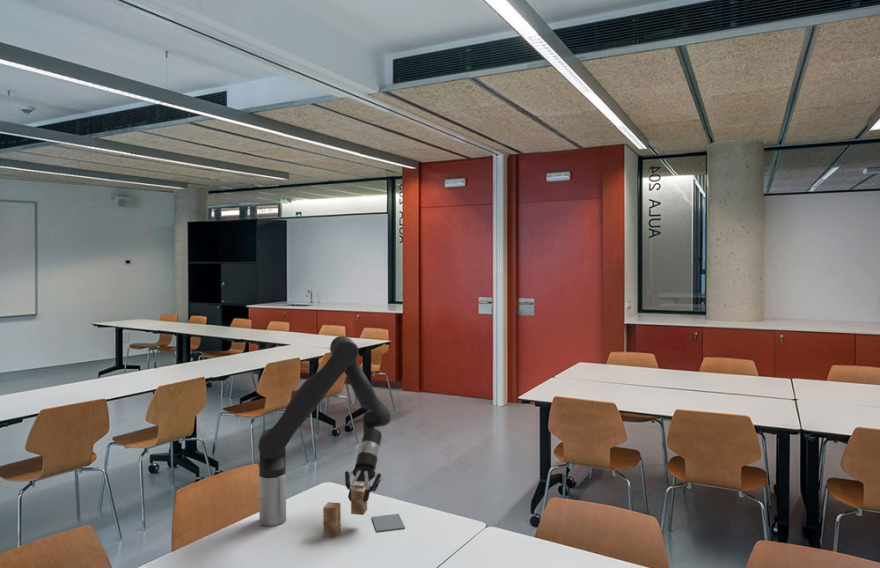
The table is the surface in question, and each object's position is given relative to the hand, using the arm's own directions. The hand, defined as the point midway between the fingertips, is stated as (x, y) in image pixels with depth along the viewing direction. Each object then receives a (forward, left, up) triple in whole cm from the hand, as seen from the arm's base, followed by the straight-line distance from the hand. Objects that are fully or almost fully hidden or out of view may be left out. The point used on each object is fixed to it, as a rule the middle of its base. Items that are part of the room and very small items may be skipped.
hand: (357, 500), depth 203 cm
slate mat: (+11, +2, -10) cm, 15 cm away
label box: (+1, +2, -5) cm, 5 cm away
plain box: (-9, -1, -10) cm, 14 cm away
